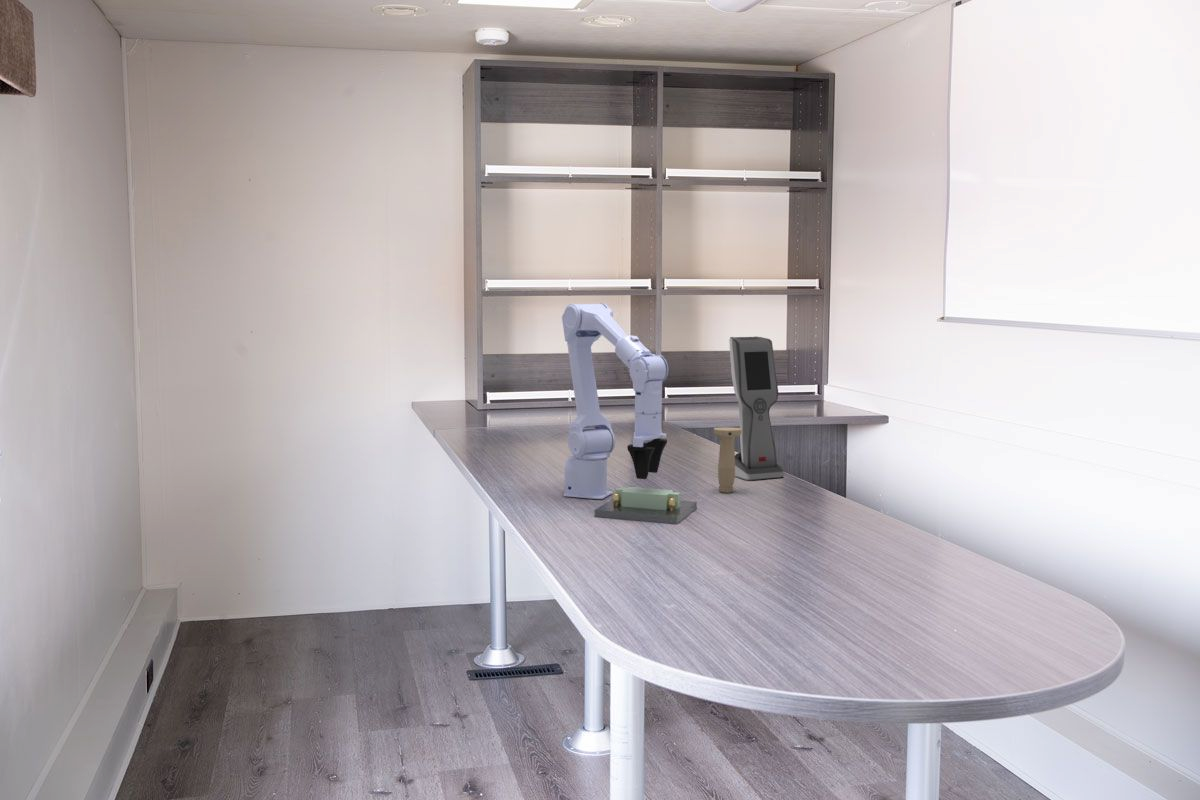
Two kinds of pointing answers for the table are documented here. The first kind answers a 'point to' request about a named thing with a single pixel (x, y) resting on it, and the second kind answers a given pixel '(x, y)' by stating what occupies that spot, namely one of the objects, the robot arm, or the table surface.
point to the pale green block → (647, 498)
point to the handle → (726, 457)
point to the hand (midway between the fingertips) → (647, 475)
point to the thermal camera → (755, 406)
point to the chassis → (646, 511)
